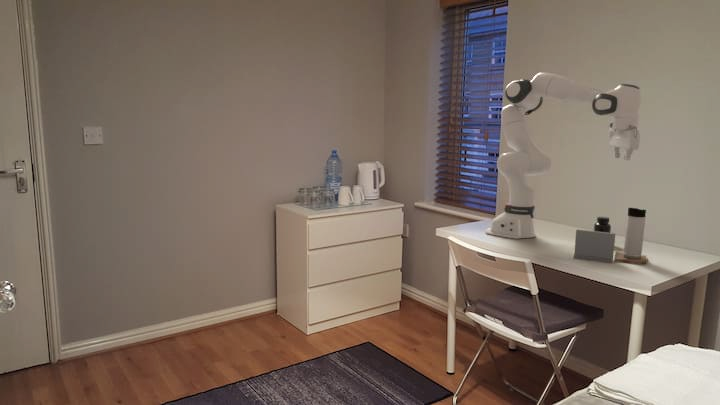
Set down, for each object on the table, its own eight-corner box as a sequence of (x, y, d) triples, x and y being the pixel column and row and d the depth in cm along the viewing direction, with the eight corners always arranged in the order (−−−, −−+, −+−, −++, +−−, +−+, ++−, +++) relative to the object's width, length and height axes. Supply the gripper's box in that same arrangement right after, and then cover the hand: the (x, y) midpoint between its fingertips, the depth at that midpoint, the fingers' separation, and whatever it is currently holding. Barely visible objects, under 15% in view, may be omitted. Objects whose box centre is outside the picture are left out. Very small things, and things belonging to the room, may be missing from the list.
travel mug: (619, 256, 208) (624, 206, 205) (629, 254, 212) (634, 205, 208) (634, 260, 203) (640, 209, 200) (644, 257, 207) (649, 207, 203)
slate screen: (573, 258, 209) (575, 231, 207) (574, 255, 212) (576, 229, 210) (612, 263, 202) (614, 235, 201) (612, 260, 206) (615, 233, 204)
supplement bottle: (611, 246, 228) (613, 219, 225) (594, 245, 229) (596, 218, 227) (607, 242, 234) (609, 216, 232) (590, 241, 236) (593, 215, 233)
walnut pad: (614, 261, 205) (614, 258, 205) (615, 254, 215) (615, 252, 215) (646, 265, 200) (646, 262, 200) (646, 258, 210) (646, 255, 210)
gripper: (645, 126, 204) (641, 162, 206) (622, 124, 224) (619, 156, 226) (629, 126, 204) (625, 161, 206) (607, 123, 224) (604, 156, 227)
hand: (621, 158), depth 217 cm, fingers open, 8 cm apart
